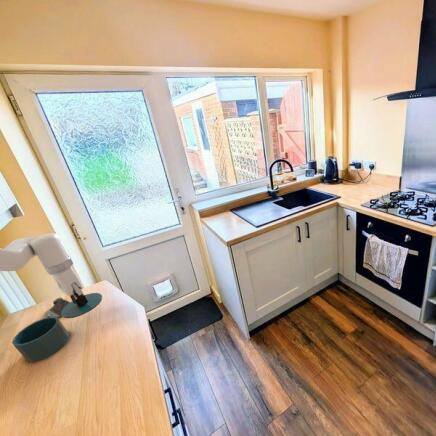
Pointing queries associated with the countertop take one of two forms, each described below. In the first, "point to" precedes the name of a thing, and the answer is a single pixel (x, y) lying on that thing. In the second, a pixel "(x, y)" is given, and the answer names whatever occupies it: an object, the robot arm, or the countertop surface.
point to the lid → (75, 311)
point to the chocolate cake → (57, 307)
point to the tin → (41, 339)
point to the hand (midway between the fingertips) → (81, 302)
